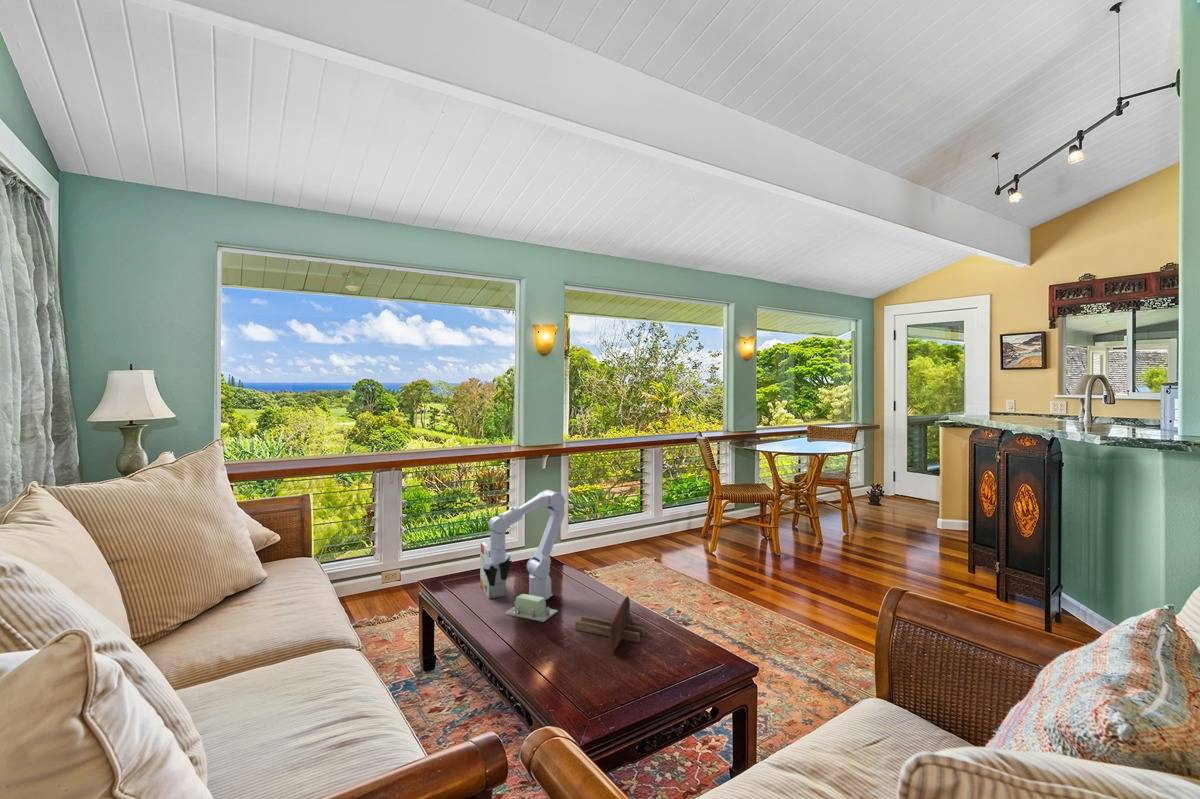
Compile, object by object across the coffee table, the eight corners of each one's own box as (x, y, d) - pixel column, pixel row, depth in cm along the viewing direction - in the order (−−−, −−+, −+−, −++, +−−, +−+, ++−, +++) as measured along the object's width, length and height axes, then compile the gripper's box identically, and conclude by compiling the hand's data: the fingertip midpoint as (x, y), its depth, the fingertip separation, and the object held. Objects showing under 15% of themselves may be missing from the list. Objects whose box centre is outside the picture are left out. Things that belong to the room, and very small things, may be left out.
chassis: (505, 614, 208) (505, 605, 208) (520, 605, 217) (520, 596, 217) (543, 622, 201) (543, 612, 201) (557, 612, 210) (557, 603, 210)
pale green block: (515, 610, 210) (515, 597, 210) (522, 606, 214) (522, 593, 214) (538, 615, 205) (538, 601, 205) (544, 610, 209) (544, 597, 209)
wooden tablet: (615, 654, 175) (615, 623, 175) (608, 653, 176) (608, 622, 176) (632, 621, 201) (632, 594, 201) (627, 621, 202) (626, 593, 202)
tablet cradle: (582, 623, 200) (582, 615, 200) (644, 636, 189) (644, 627, 189) (575, 630, 194) (575, 621, 194) (638, 643, 184) (638, 634, 184)
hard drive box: (479, 587, 239) (479, 541, 239) (497, 584, 242) (497, 539, 242) (488, 599, 225) (488, 550, 225) (506, 596, 228) (506, 548, 228)
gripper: (500, 542, 223) (500, 575, 223) (477, 551, 210) (477, 586, 210) (515, 544, 220) (515, 578, 220) (492, 553, 207) (492, 589, 207)
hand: (497, 582), depth 215 cm, fingers open, 7 cm apart
